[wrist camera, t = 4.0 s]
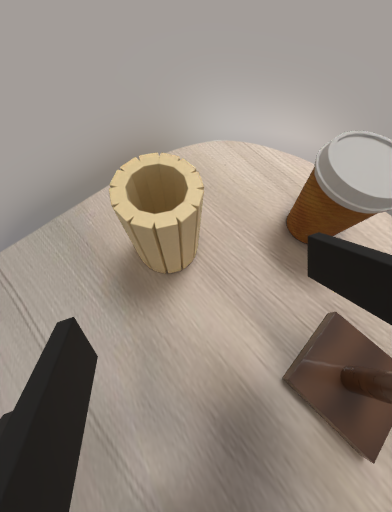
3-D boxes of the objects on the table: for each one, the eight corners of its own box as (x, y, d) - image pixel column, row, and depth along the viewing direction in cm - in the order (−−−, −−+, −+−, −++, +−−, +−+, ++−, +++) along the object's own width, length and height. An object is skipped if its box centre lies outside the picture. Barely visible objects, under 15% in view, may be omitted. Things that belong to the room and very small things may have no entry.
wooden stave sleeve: (127, 245, 29) (90, 185, 18) (169, 211, 32) (160, 140, 20) (166, 285, 27) (152, 246, 16) (208, 245, 30) (221, 188, 18)
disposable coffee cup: (340, 261, 29) (432, 213, 18) (272, 245, 30) (322, 189, 19) (339, 206, 33) (416, 137, 22) (278, 193, 34) (323, 119, 22)
